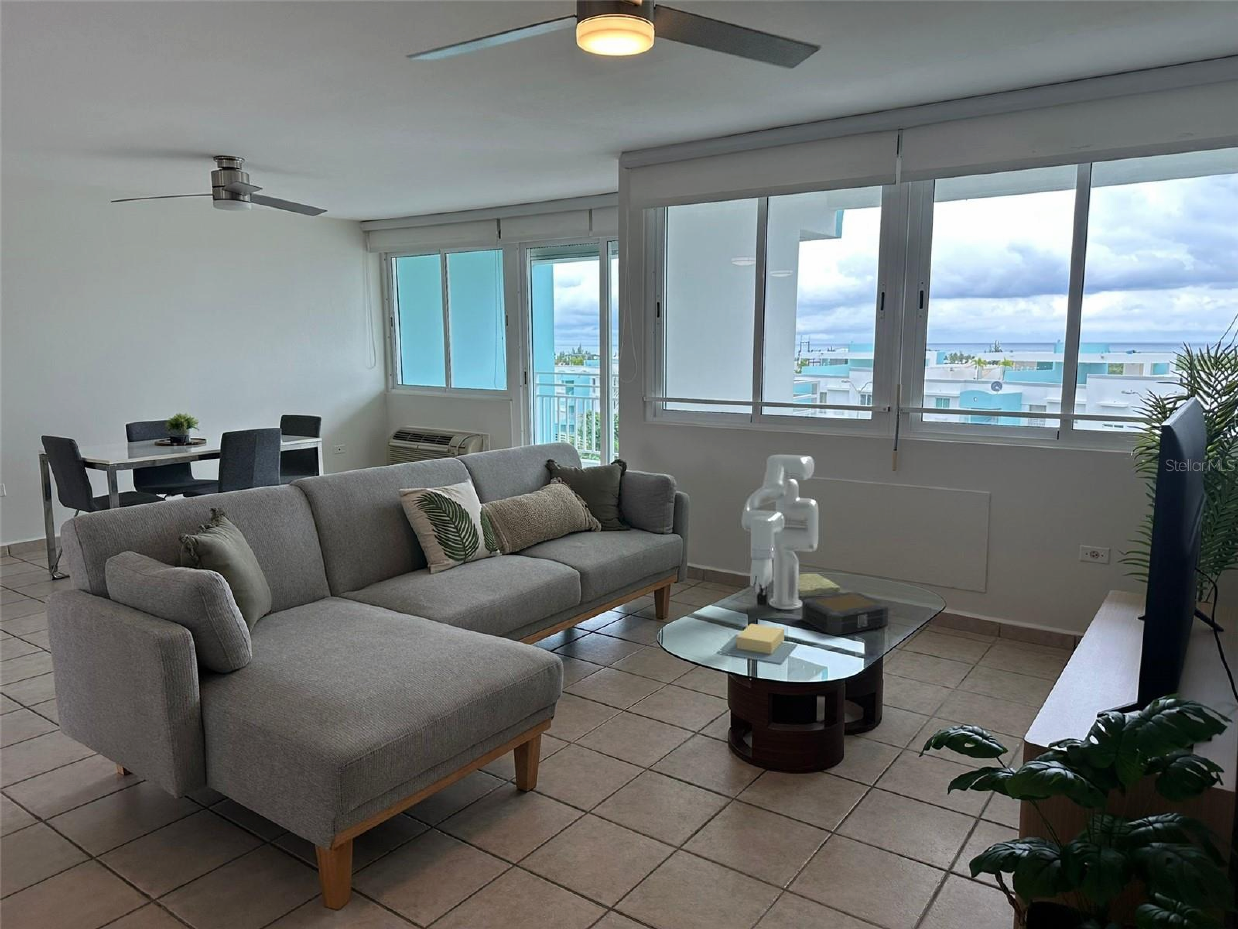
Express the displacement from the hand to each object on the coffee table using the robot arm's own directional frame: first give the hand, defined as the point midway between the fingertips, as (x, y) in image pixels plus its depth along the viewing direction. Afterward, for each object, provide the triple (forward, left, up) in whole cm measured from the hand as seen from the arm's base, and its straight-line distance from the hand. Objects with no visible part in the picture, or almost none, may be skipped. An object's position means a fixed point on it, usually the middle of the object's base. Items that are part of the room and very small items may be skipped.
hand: (762, 604), depth 282 cm
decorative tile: (-68, -3, -15) cm, 70 cm away
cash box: (-34, +20, -15) cm, 42 cm away
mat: (+5, 0, -14) cm, 15 cm away
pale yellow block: (-5, 0, -11) cm, 13 cm away
